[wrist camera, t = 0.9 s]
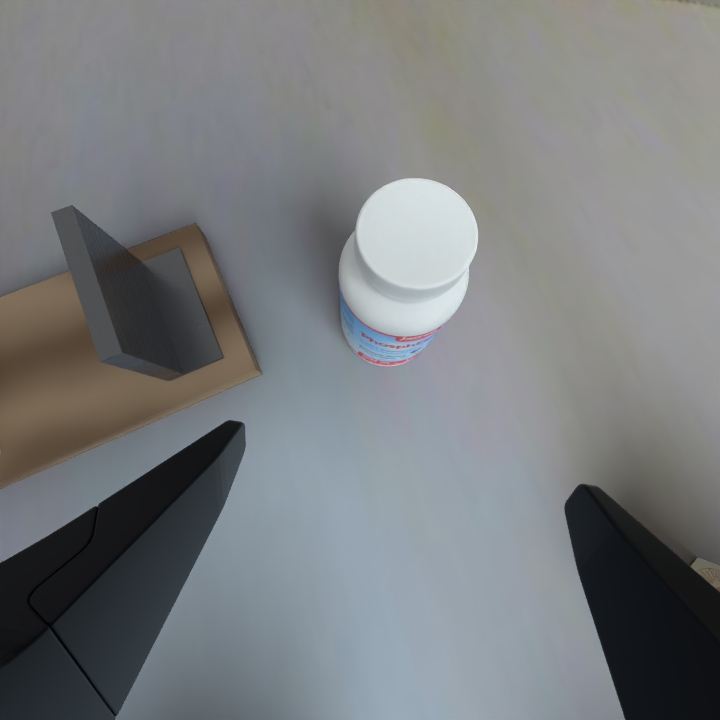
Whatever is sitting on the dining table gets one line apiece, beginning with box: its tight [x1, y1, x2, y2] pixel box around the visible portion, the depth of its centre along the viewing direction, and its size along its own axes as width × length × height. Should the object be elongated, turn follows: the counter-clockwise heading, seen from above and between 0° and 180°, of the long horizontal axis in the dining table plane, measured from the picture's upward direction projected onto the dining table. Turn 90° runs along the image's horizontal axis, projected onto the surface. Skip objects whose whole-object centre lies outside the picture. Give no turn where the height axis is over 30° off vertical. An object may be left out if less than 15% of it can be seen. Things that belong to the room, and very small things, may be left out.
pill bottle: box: [339, 178, 478, 366], centre depth 18 cm, size 6×6×11 cm
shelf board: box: [0, 223, 262, 489], centre depth 22 cm, size 11×20×2 cm, turn 115°
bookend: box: [51, 205, 224, 381], centre depth 19 cm, size 8×4×6 cm, turn 25°
